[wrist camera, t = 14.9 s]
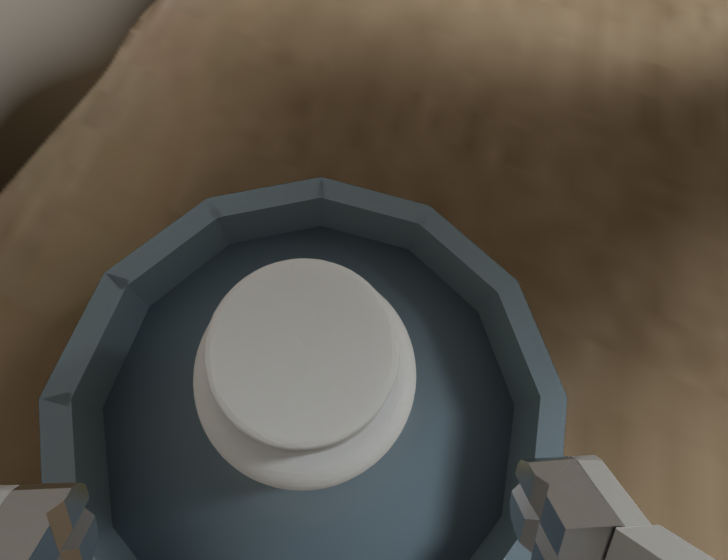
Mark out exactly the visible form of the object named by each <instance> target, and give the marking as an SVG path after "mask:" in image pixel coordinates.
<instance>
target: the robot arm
mask: <svg viewBox="0 0 728 560" xmlns="http://www.w3.org/2000/svg"><path fill="white" fill-rule="evenodd" d="M515 475H516V477H517V479H518V481H519V484H518V485H517V486H516V487H515V488H514V489H513V490H512V492H511V498H510V515H511V521H512V525H513V528H514V531H515V534H516V536H517V538H518V541H519V543H520V544H521V545H523V546H524V547H525V548H526V549H528V550H529V551H530V552H531V553H532V556H531V560H715V559H714V558H712V557H710V556H709V555H707V554H706V553H704V552H702V551H701V550H699V549H698V548H696V547H694V546H693V545H691V544H690V543H688V542H686V541H685V540H683V539H682V538H680V537H678V536H677V535H675V534H674V533H672V532H670V531H669V530H667V529H666V528H664V527H662V526H661V525H651V523H650V522H649V521H648V519H647V518H646V517H645V516H644V514H643V513H642V512H641V510H640V509H639V508H638V506H637V505H636V504H635V502H634V501H633V500H632V499H631V497H630V496H629V495H628V493H627V492H626V491H625V489H624V488H623V487H622V486H621V484H620V483H619V482H618V480H617V479H616V478H615V476H614V475H613V474H612V473H611V471H610V470H609V469H608V467H607V466H606V465H605V463H604V462H603V461H602V460H601V459H600V458H599V457H597V456H596V455H583V456H570V457H567V456H566V457H550V458H534V459H521V460H520V462H519V463H518V464H517V468H516V473H515ZM89 498H90V496H89V493H88V490H87V487H86V484H84V483H79V482H77V483H40V484H21V485H0V560H92V559H93V557H94V552H95V548H96V544H97V539H98V526H97V522H96V518H95V515H94V514H92V513H91V512H90V511H88V510H87V509H86V508H85V506H86V504H87V502H88V500H89Z"/></svg>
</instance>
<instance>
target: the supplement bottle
mask: <svg viewBox="0 0 728 560" xmlns="http://www.w3.org/2000/svg"><path fill="white" fill-rule="evenodd" d="M193 389H194V399H195V405H196V409H197V413H198V416H199V419H200V422H201V424H202V427H203V429H204V431H205V433H206V435H207V436H208V438H209V440H210V442H211V443H212V445H213V446H214V447H215V448H216V450H217V451H218V452H219V453H220V455H221V456H222V457H223V458H224V459H225V460H226V461H227V462H228V463H230V464H231V465H232V466H233V467H234V468H235V469H237V470H238V471H240V472H241V473H242V474H244V475H246V476H247V477H249V478H251V479H253V480H255V481H258V482H260V483H263V484H265V485H268V486H272V487H275V488H279V489H285V490H296V491H311V490H318V489H324V488H328V487H332V486H336V485H339V484H341V483H344V482H346V481H348V480H350V479H352V478H354V477H356V476H358V475H360V474H361V473H363V472H365V471H366V470H367V469H369V468H370V467H371V466H373V465H374V464H375V463H376V462H377V461H379V460H380V459H381V458H382V457H383V456H384V455H385V454H386V453H387V452H388V450H389V449H390V448H391V447H392V445H393V444H394V443H395V441H396V440H397V438H398V437H399V435H400V433H401V432H402V430H403V428H404V426H405V424H406V422H407V419H408V417H409V414H410V411H411V408H412V405H413V401H414V395H415V389H416V363H415V356H414V351H413V347H412V344H411V340H410V337H409V335H408V332H407V330H406V328H405V326H404V324H403V322H402V320H401V319H400V317H399V315H398V314H397V312H396V311H395V310H394V308H393V307H392V306H391V305H390V303H389V302H388V301H387V300H386V299H385V298H384V297H383V296H381V295H380V294H379V293H378V292H377V291H376V290H375V289H374V288H373V287H372V286H371V285H370V284H369V283H368V282H367V281H366V280H365V279H363V278H362V277H361V276H359V275H358V274H356V273H355V272H353V271H352V270H350V269H348V268H346V267H343V266H341V265H338V264H336V263H332V262H328V261H324V260H320V259H309V258H298V259H289V260H284V261H279V262H275V263H272V264H269V265H266V266H264V267H262V268H260V269H258V270H256V271H254V272H253V273H251V274H249V275H248V276H246V277H244V278H243V279H242V280H241V281H240V282H238V283H237V284H236V285H235V286H234V287H233V288H232V289H231V290H230V291H229V292H228V293H227V294H226V296H225V297H224V298H223V299H222V301H221V302H220V304H219V305H218V307H217V309H216V310H215V312H214V314H213V316H212V319H211V321H210V323H209V325H208V327H207V329H206V331H205V333H204V335H203V337H202V339H201V342H200V345H199V348H198V351H197V354H196V359H195V364H194V375H193Z"/></svg>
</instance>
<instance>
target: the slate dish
mask: <svg viewBox="0 0 728 560" xmlns="http://www.w3.org/2000/svg"><path fill="white" fill-rule="evenodd" d="M298 258H309V259H320V260H324V261H328V262H332V263H336V264H338V265H341V266H343V267H346V268H348V269H350V270H352V271H353V272H355V273H356V274H358V275H359V276H361V277H362V278H363V279H365V280H366V281H367V282H368V283H369V284H370V285H371V286H372V287H373V288H374V289H375V290H376V291H377V292H378V293H379V294H380V295H381V296H383V297H384V298H385V299H386V300H387V301H388V302H389V303H390V305H391V306H392V307H393V308H394V310H395V311H396V312H397V314H398V315H399V317H400V319H401V320H402V322H403V324H404V326H405V328H406V330H407V332H408V335H409V337H410V340H411V344H412V347H413V351H414V356H415V363H416V389H415V395H414V401H413V405H412V408H411V411H410V414H409V417H408V419H407V422H406V424H405V426H404V428H403V430H402V432H401V433H400V435H399V437H398V438H397V440H396V441H395V443H394V444H393V445H392V447H391V448H390V449H389V450H388V452H387V453H386V454H385V455H384V456H383V457H382V458H381V459H380V460H379V461H377V462H376V463H375V464H374V465H373V466H371V467H370V468H369V469H367V470H366V471H365V472H363V473H361V474H360V475H358V476H356V477H354V478H352V479H350V480H348V481H346V482H344V483H341V484H339V485H336V486H332V487H328V488H324V489H318V490H311V491H296V490H285V489H279V488H275V487H272V486H268V485H265V484H263V483H260V482H258V481H255V480H253V479H251V478H249V477H247V476H246V475H244V474H242V473H241V472H240V471H238V470H237V469H235V468H234V467H233V466H232V465H231V464H230V463H228V462H227V461H226V460H225V459H224V458H223V457H222V456H221V455H220V453H219V452H218V451H217V450H216V448H215V447H214V446H213V445H212V443H211V442H210V440H209V438H208V436H207V435H206V433H205V431H204V429H203V427H202V424H201V422H200V419H199V416H198V413H197V409H196V405H195V399H194V389H193V375H194V364H195V359H196V354H197V351H198V348H199V345H200V342H201V339H202V337H203V335H204V333H205V331H206V329H207V327H208V325H209V323H210V321H211V319H212V316H213V314H214V312H215V310H216V309H217V307H218V305H219V304H220V302H221V301H222V299H223V298H224V297H225V296H226V294H227V293H228V292H229V291H230V290H231V289H232V288H233V287H234V286H235V285H236V284H237V283H238V282H240V281H241V280H242V279H243V278H244V277H246V276H248V275H249V274H251V273H253V272H254V271H256V270H258V269H260V268H262V267H264V266H266V265H269V264H272V263H275V262H279V261H284V260H289V259H298ZM566 409H567V395H566V393H565V390H564V388H563V386H562V383H561V381H560V379H559V376H558V374H557V372H556V369H555V367H554V365H553V362H552V360H551V358H550V355H549V353H548V351H547V348H546V346H545V344H544V341H543V339H542V337H541V334H540V332H539V330H538V327H537V325H536V323H535V320H534V318H533V316H532V313H531V311H530V309H529V306H528V304H527V302H526V299H525V297H524V295H523V292H522V290H521V288H520V285H519V283H518V281H517V280H516V279H515V278H514V277H513V276H511V275H510V274H509V273H508V272H507V271H506V270H504V269H503V268H502V267H501V266H500V265H499V264H497V263H496V262H495V261H494V260H493V259H492V258H490V257H489V256H488V255H487V254H486V253H484V252H483V251H482V250H481V249H480V248H479V247H477V246H476V245H475V244H474V243H473V242H472V241H470V240H469V239H468V238H467V237H466V236H465V235H463V234H462V233H461V232H460V231H459V230H458V229H456V228H455V227H454V226H453V225H452V224H451V223H449V222H448V221H447V220H446V219H445V218H444V217H442V216H441V215H440V214H439V213H438V212H437V211H435V210H434V209H433V208H432V207H431V206H429V205H425V204H422V203H418V202H414V201H410V200H407V199H403V198H399V197H395V196H392V195H388V194H384V193H380V192H376V191H373V190H369V189H365V188H361V187H358V186H354V185H350V184H346V183H343V182H339V181H335V180H331V179H327V178H324V177H318V178H313V179H307V180H302V181H296V182H291V183H286V184H280V185H275V186H269V187H264V188H259V189H253V190H248V191H242V192H237V193H232V194H226V195H221V196H215V197H210V198H208V199H205V200H204V201H202V202H201V203H200V204H198V205H197V206H196V207H194V208H193V209H191V210H190V211H189V212H187V213H186V214H184V215H183V216H182V217H180V218H179V219H178V220H176V221H175V222H173V223H172V224H171V225H169V226H168V227H167V228H165V229H164V230H162V231H161V232H160V233H158V234H157V235H156V236H154V237H153V238H151V239H150V240H149V241H147V242H146V243H144V244H143V245H142V246H140V247H139V248H138V249H136V250H135V251H133V252H132V253H131V254H129V255H128V256H127V257H125V258H124V259H122V260H121V261H120V262H118V263H117V264H116V265H114V266H113V267H111V268H110V269H109V270H107V271H106V272H105V273H104V274H103V276H102V278H101V280H100V282H99V284H98V286H97V288H96V290H95V292H94V293H93V295H92V297H91V299H90V301H89V303H88V305H87V307H86V309H85V311H84V313H83V315H82V317H81V319H80V320H79V322H78V324H77V326H76V328H75V330H74V332H73V334H72V336H71V338H70V340H69V342H68V344H67V345H66V347H65V349H64V351H63V353H62V355H61V357H60V359H59V361H58V363H57V365H56V367H55V369H54V370H53V372H52V374H51V376H50V378H49V380H48V382H47V384H46V386H45V388H44V390H43V392H42V394H41V395H40V397H39V424H40V453H41V482H42V483H77V482H79V483H84V484H86V487H87V490H88V493H89V496H90V498H89V500H88V502H87V504H86V506H85V508H86V509H87V510H88V511H90V512H91V513H92V514H94V515H95V518H96V522H97V526H98V539H97V544H96V548H95V552H94V557H93V559H92V560H531V556H532V553H531V552H530V551H529V550H528V549H526V548H525V547H524V546H523V545H521V544H520V543H519V541H518V538H517V536H516V534H515V531H514V528H513V525H512V521H511V515H510V498H511V492H512V490H513V489H514V488H515V487H516V486H517V485H518V484H519V481H518V479H517V477H516V475H515V473H516V468H517V464H518V463H519V462H520V460H521V459H534V458H550V457H563V450H564V436H565V423H566Z"/></svg>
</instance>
